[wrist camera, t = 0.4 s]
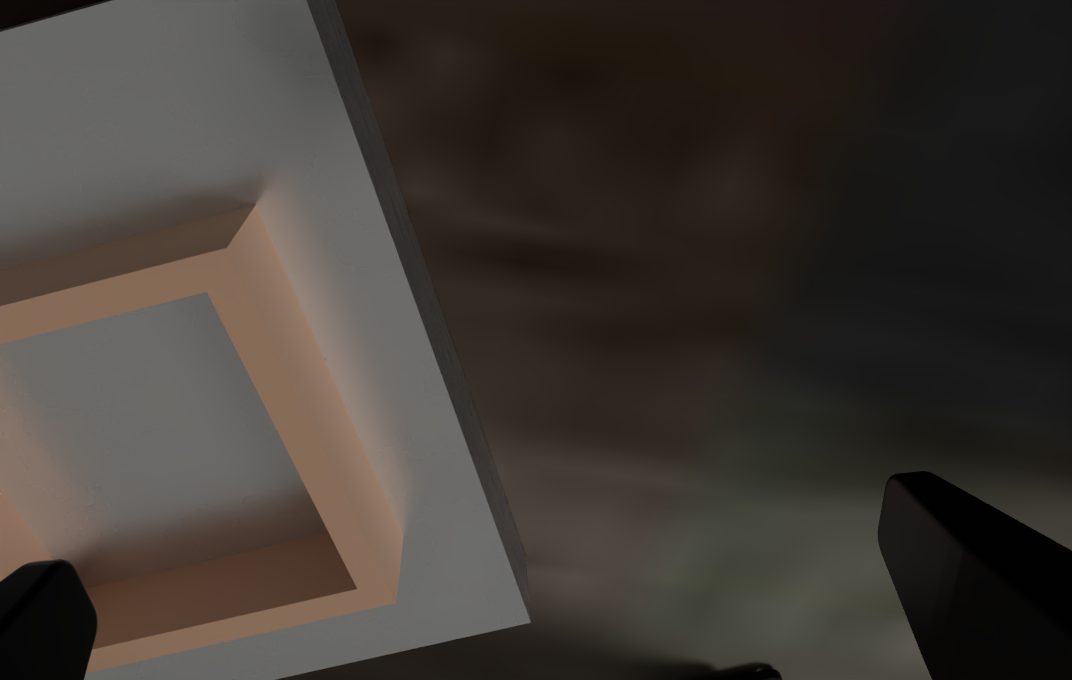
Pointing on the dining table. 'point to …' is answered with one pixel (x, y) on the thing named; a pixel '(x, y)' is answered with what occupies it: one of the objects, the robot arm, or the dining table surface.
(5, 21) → the dining table surface
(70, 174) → the grey board with frame
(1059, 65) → the dining table surface
